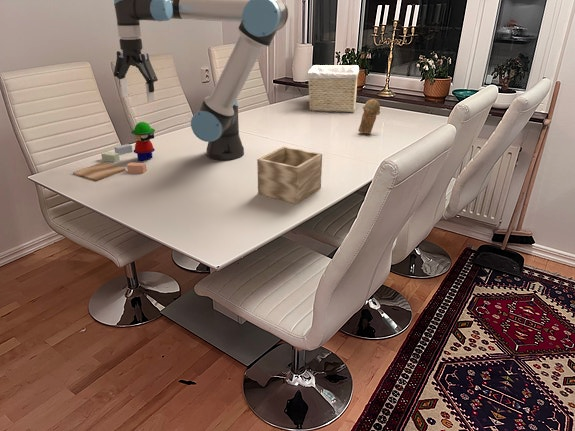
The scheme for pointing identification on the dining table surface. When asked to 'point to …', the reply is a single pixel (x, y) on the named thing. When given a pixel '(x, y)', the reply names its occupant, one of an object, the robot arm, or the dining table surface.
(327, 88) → the basket
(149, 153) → the toy
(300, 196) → the birch crate
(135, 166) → the terracotta brick
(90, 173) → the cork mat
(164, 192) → the dining table surface
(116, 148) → the slate brick
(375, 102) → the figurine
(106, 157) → the sage brick
